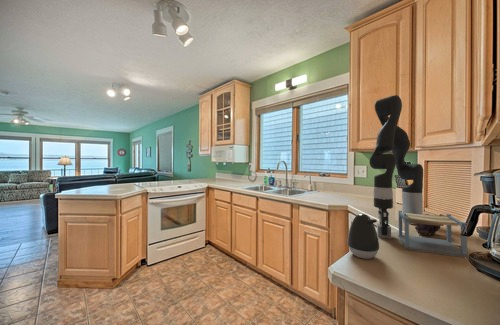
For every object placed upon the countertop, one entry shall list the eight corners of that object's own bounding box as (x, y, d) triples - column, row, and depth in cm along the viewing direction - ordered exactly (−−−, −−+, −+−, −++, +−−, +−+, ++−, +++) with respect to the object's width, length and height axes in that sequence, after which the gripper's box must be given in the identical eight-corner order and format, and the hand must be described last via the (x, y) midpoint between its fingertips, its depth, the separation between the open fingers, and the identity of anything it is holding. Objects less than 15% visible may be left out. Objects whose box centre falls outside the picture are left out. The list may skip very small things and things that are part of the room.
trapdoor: (402, 220, 97) (402, 211, 97) (445, 224, 90) (445, 215, 90) (409, 229, 85) (409, 218, 85) (459, 234, 78) (459, 223, 78)
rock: (413, 237, 101) (442, 241, 95) (412, 219, 101) (441, 222, 94) (415, 227, 110) (441, 230, 103) (414, 211, 109) (440, 213, 103)
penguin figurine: (366, 264, 71) (365, 218, 71) (341, 252, 80) (341, 212, 81) (386, 259, 75) (386, 215, 75) (360, 248, 84) (360, 210, 85)
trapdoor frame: (398, 236, 99) (398, 210, 99) (449, 242, 91) (449, 213, 91) (405, 249, 83) (405, 218, 84) (468, 258, 75) (467, 223, 75)
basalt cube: (377, 234, 102) (377, 223, 102) (389, 235, 100) (389, 224, 100) (378, 237, 98) (377, 226, 98) (391, 239, 95) (391, 227, 95)
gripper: (372, 194, 107) (373, 227, 107) (374, 198, 94) (375, 235, 94) (390, 195, 104) (391, 229, 103) (395, 199, 91) (395, 238, 91)
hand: (383, 232), depth 99 cm, fingers open, 8 cm apart
